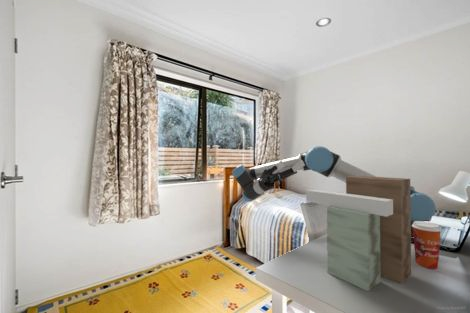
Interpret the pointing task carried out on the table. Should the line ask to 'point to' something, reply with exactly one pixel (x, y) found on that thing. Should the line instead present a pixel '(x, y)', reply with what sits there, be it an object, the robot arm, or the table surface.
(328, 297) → the table surface
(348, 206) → the white block
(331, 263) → the wooden boards
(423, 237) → the paper cup
